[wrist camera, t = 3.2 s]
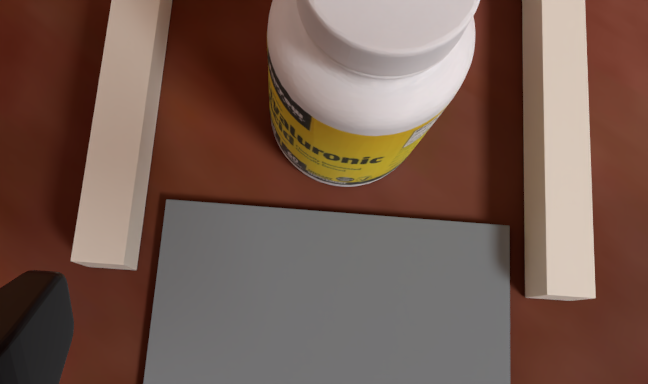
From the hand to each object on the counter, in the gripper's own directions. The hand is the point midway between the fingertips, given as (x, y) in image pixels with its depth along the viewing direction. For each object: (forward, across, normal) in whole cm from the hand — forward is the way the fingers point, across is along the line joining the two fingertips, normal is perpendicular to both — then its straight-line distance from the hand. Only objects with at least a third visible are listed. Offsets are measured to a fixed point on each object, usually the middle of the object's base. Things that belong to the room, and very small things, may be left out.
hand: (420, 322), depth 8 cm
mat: (+8, 0, +11) cm, 13 cm away
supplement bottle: (+15, 0, +4) cm, 15 cm away
